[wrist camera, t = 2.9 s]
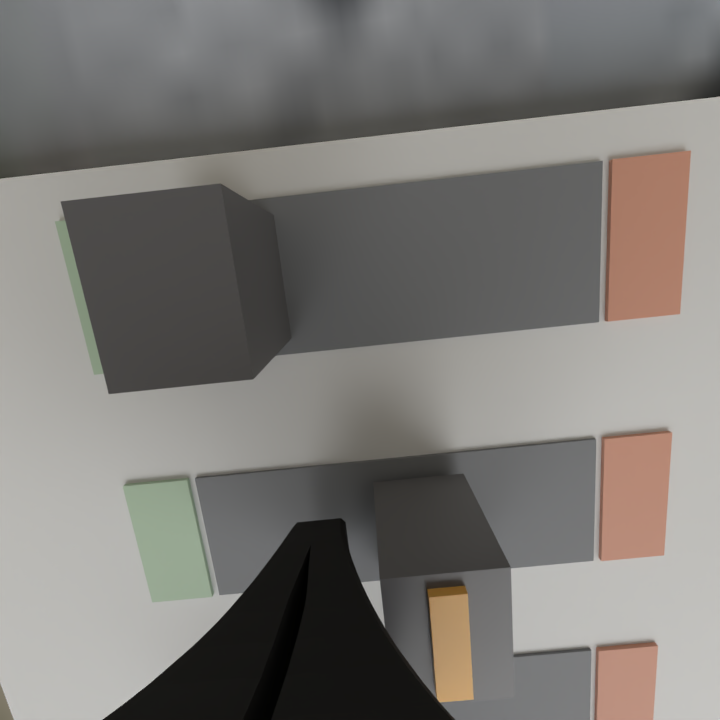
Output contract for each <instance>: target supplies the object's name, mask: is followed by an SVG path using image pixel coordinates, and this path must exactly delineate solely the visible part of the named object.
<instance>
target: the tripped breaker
mask: <svg viewBox="0 0 720 720" xmlns="http://www.w3.org/2000/svg"><path fill="white" fill-rule="evenodd" d="M373 486H374V501H375V516H376V531H377V546H378V561H379V576H380V586H381V595H382V605H383V614H384V623H385V629H386V630H387V632H388V633H389V635H390V636H391V638H392V640H393V641H394V643H395V644H396V646H397V647H398V649H399V650H400V652H401V653H402V654H403V656H404V657H405V658H406V660H407V661H408V662H409V664H410V665H411V667H412V668H413V669H414V671H415V672H416V673H417V675H418V676H419V677H420V679H421V680H422V682H423V683H424V684H425V685H426V686H427V688H428V689H429V690H430V691H431V692H432V694H433V695H434V696H435V697H436V698H437V700H438V701H439V702H440V703H441V704H445V703H456V702H468V701H480V700H491V699H503V698H515V696H514V660H513V624H512V588H511V567H510V565H509V563H508V561H507V559H506V557H505V555H504V553H503V551H502V549H501V547H500V545H499V543H498V541H497V539H496V537H495V535H494V533H493V531H492V529H491V527H490V525H489V523H488V521H487V519H486V517H485V515H484V513H483V511H482V509H481V507H480V505H479V503H478V501H477V499H476V497H475V495H474V493H473V491H472V489H471V487H470V485H469V483H468V481H467V479H466V477H465V475H464V474H453V475H442V476H432V477H422V478H411V479H401V480H391V481H381V482H373Z"/></svg>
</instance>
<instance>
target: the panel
mask: <svg viewBox="0 0 720 720" xmlns="http://www.w3.org/2000/svg"><path fill="white" fill-rule="evenodd" d="M453 474H464V475H465V477H466V479H467V481H468V483H469V485H470V487H471V489H472V491H473V493H474V495H475V497H476V499H477V501H478V503H479V505H480V507H481V509H482V511H483V513H484V515H485V517H486V519H487V521H488V523H489V525H490V527H491V529H492V531H493V533H494V535H495V537H496V539H497V541H498V543H499V545H500V547H501V549H502V551H503V553H504V555H505V557H506V559H507V561H508V563H509V565H510V567H511V588H512V624H513V660H514V696H515V698H503V699H491V700H480V701H468V702H456V703H445V704H442V706H443V707H444V708H445V709H446V710H447V711H448V712H449V713H450V715H451V716H452V717H453V718H454V719H455V720H720V97H713V98H704V99H695V100H686V101H678V102H669V103H660V104H651V105H642V106H634V107H625V108H616V109H607V110H599V111H590V112H581V113H572V114H563V115H555V116H546V117H537V118H528V119H520V120H511V121H502V122H493V123H484V124H476V125H467V126H458V127H449V128H441V129H432V130H423V131H414V132H405V133H397V134H388V135H379V136H370V137H362V138H353V139H344V140H335V141H326V142H318V143H309V144H300V145H291V146H283V147H274V148H265V149H256V150H247V151H239V152H230V153H221V154H212V155H204V156H195V157H186V158H177V159H168V160H160V161H151V162H142V163H133V164H125V165H116V166H107V167H98V168H89V169H81V170H72V171H63V172H54V173H46V174H37V175H28V176H19V177H11V178H2V179H0V684H1V686H2V689H3V692H4V694H5V697H6V700H7V703H8V705H9V708H10V711H11V713H12V716H13V719H14V720H103V719H104V718H105V717H107V716H108V715H109V714H111V713H112V712H113V711H115V710H116V709H117V708H119V707H120V706H122V705H123V704H124V703H125V702H127V701H128V700H129V699H131V698H132V697H133V696H134V695H136V694H137V693H138V692H140V691H141V690H142V689H143V688H145V687H146V686H147V685H148V684H150V683H151V682H152V681H153V680H154V679H155V678H157V677H158V676H159V675H160V674H161V673H162V672H164V671H165V670H166V669H167V668H168V667H169V666H170V665H172V664H173V663H174V662H175V661H176V660H177V659H179V658H180V657H181V656H182V655H183V654H184V653H185V652H187V651H188V650H189V649H190V648H191V647H192V646H193V645H194V644H195V643H196V642H198V641H199V640H200V639H201V638H202V637H203V636H204V635H205V634H206V633H207V632H208V631H209V630H210V629H211V628H212V627H213V626H214V625H215V624H216V623H217V622H218V621H219V620H220V619H221V617H222V616H223V615H224V614H225V613H226V612H227V611H228V610H229V609H230V608H231V606H232V605H233V604H234V603H235V602H236V601H237V599H238V598H239V597H240V596H241V595H242V594H243V592H244V591H245V590H246V589H247V588H248V587H249V585H250V584H251V583H252V582H253V580H254V579H255V578H256V577H257V575H258V574H259V573H260V571H261V570H262V569H263V568H264V566H265V565H266V564H267V562H268V561H269V560H270V558H271V557H272V556H273V554H274V553H275V552H276V550H277V549H278V547H279V546H280V545H281V543H282V542H283V540H284V539H285V538H286V536H287V535H288V533H289V532H290V531H291V529H292V528H293V526H294V525H295V524H296V523H297V522H306V521H316V520H326V519H336V518H341V519H343V520H344V521H345V522H346V529H347V536H348V544H349V551H350V554H351V557H352V560H353V563H354V566H355V568H356V571H357V573H358V576H359V578H360V581H361V583H362V585H363V587H364V589H365V591H366V594H367V596H368V598H369V600H370V602H371V604H372V606H373V607H374V609H375V611H376V613H377V615H378V617H379V618H380V620H381V622H382V623H383V625H384V627H385V623H384V614H383V605H382V595H381V586H380V576H379V561H378V546H377V531H376V516H375V501H374V486H373V482H381V481H391V480H401V479H411V478H422V477H432V476H442V475H453Z"/></svg>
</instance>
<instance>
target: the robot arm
mask: <svg viewBox="0 0 720 720" xmlns="http://www.w3.org/2000/svg"><path fill="white" fill-rule="evenodd" d="M103 720H455V719H454V718H453V717H452V716H451V715H450V713H449V712H448V711H447V710H446V709H445V708H444V707H443V706H442V704H441V703H440V702H439V701H438V700H437V698H436V697H435V696H434V695H433V694H432V692H431V691H430V690H429V689H428V688H427V686H426V685H425V684H424V683H423V682H422V680H421V679H420V677H419V676H418V675H417V673H416V672H415V671H414V669H413V668H412V667H411V665H410V664H409V662H408V661H407V660H406V658H405V657H404V656H403V654H402V653H401V652H400V650H399V649H398V647H397V646H396V644H395V643H394V641H393V640H392V638H391V636H390V635H389V633H388V632H387V630H386V629H385V627H384V625H383V623H382V622H381V620H380V618H379V617H378V615H377V613H376V611H375V609H374V607H373V606H372V604H371V602H370V600H369V598H368V596H367V594H366V591H365V589H364V587H363V585H362V583H361V581H360V578H359V576H358V573H357V571H356V568H355V566H354V563H353V560H352V557H351V554H350V551H349V544H348V536H347V529H346V522H345V521H344V520H343V519H341V518H336V519H326V520H316V521H306V522H297V523H296V524H295V525H294V526H293V528H292V529H291V531H290V532H289V533H288V535H287V536H286V538H285V539H284V540H283V542H282V543H281V545H280V546H279V547H278V549H277V550H276V552H275V553H274V554H273V556H272V557H271V558H270V560H269V561H268V562H267V564H266V565H265V566H264V568H263V569H262V570H261V571H260V573H259V574H258V575H257V577H256V578H255V579H254V580H253V582H252V583H251V584H250V585H249V587H248V588H247V589H246V590H245V591H244V592H243V594H242V595H241V596H240V597H239V598H238V599H237V601H236V602H235V603H234V604H233V605H232V606H231V608H230V609H229V610H228V611H227V612H226V613H225V614H224V615H223V616H222V617H221V619H220V620H219V621H218V622H217V623H216V624H215V625H214V626H213V627H212V628H211V629H210V630H209V631H208V632H207V633H206V634H205V635H204V636H203V637H202V638H201V639H200V640H199V641H198V642H196V643H195V644H194V645H193V646H192V647H191V648H190V649H189V650H188V651H187V652H185V653H184V654H183V655H182V656H181V657H180V658H179V659H177V660H176V661H175V662H174V663H173V664H172V665H170V666H169V667H168V668H167V669H166V670H165V671H164V672H162V673H161V674H160V675H159V676H158V677H157V678H155V679H154V680H153V681H152V682H151V683H150V684H148V685H147V686H146V687H145V688H143V689H142V690H141V691H140V692H138V693H137V694H136V695H134V696H133V697H132V698H131V699H129V700H128V701H127V702H125V703H124V704H123V705H122V706H120V707H119V708H117V709H116V710H115V711H113V712H112V713H111V714H109V715H108V716H107V717H105V718H104V719H103Z"/></svg>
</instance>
